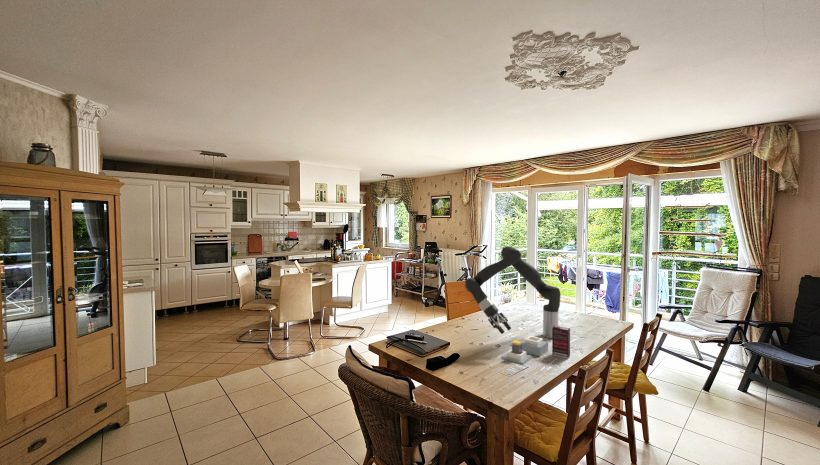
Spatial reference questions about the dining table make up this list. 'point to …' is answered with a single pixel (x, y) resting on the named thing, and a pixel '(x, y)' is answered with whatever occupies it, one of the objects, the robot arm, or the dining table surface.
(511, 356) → the plate
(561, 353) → the supplement box
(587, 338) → the dining table surface
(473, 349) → the dining table surface
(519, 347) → the plug
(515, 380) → the dining table surface
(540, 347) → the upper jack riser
